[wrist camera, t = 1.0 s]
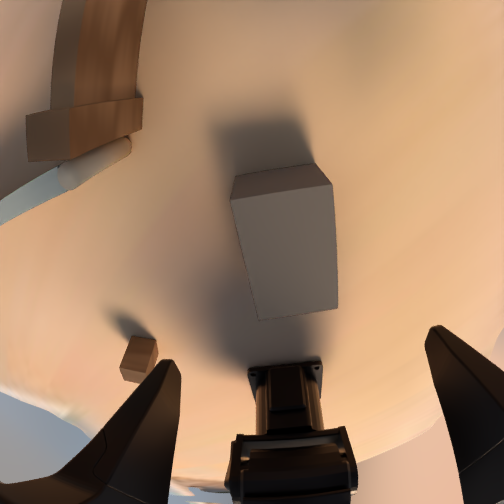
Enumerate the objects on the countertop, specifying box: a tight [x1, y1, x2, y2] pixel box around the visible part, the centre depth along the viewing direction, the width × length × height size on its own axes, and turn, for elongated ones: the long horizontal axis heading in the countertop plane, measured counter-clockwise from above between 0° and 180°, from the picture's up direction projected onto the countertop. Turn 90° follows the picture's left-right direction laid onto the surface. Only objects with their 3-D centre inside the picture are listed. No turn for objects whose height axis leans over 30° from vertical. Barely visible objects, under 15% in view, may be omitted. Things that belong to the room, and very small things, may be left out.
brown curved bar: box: [26, 0, 158, 384], centre depth 13 cm, size 27×2×7 cm, turn 173°
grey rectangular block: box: [230, 163, 338, 320], centre depth 15 cm, size 7×4×4 cm, turn 11°
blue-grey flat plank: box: [0, 137, 132, 226], centre depth 13 cm, size 16×1×6 cm, turn 103°
